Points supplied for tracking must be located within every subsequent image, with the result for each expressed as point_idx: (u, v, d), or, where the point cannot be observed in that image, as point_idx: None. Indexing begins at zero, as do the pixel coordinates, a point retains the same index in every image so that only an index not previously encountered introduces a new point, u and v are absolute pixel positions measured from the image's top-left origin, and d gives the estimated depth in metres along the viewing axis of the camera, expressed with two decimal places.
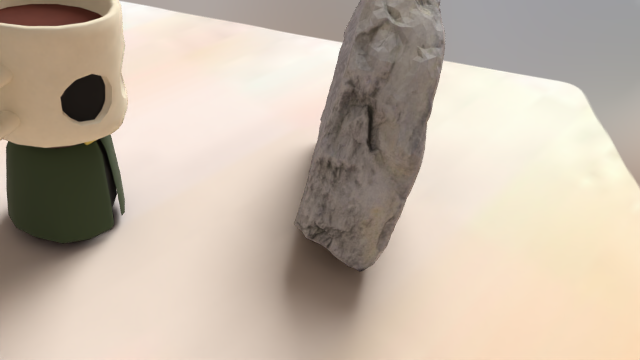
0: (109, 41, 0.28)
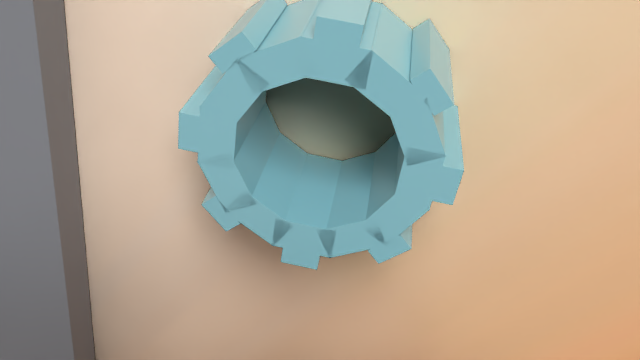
0: None
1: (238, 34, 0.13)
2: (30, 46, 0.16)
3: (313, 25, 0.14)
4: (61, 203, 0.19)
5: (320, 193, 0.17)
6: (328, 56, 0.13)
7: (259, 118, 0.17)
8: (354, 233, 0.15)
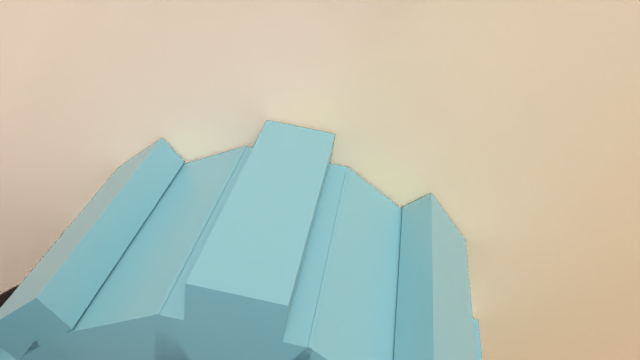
0: None
1: (31, 300, 0.06)
2: None
3: None
4: None
5: None
6: (219, 349, 0.06)
7: None
8: None
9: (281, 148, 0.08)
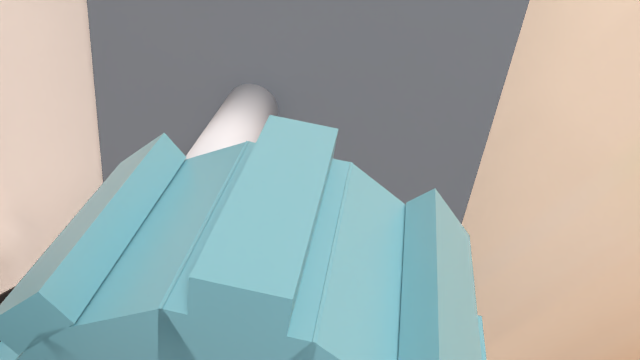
0: None
1: (33, 295, 0.06)
2: (503, 57, 0.16)
3: None
4: (462, 213, 0.19)
5: None
6: (222, 344, 0.06)
7: None
8: None
9: (284, 143, 0.08)
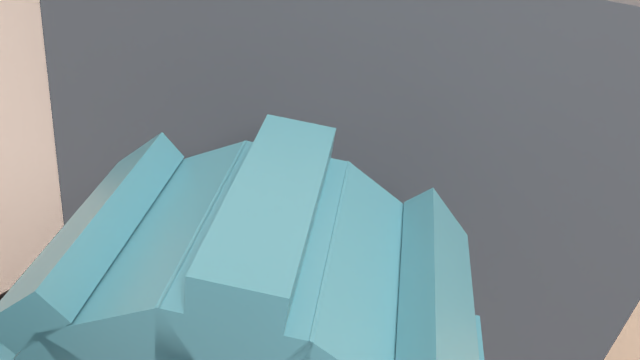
0: None
1: (30, 294, 0.06)
2: None
3: None
4: None
5: None
6: (219, 344, 0.06)
7: None
8: None
9: (282, 142, 0.08)
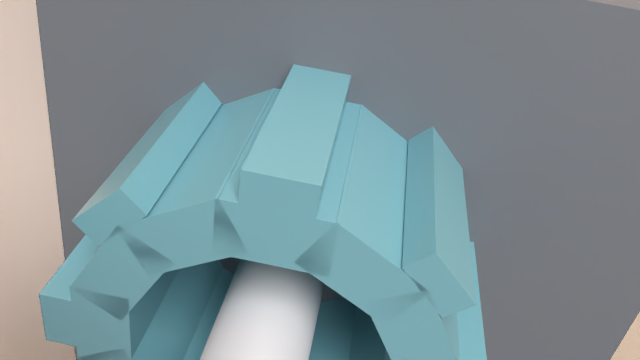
0: None
1: (115, 191, 0.08)
2: None
3: None
4: None
5: None
6: (265, 229, 0.08)
7: None
8: None
9: (307, 84, 0.10)
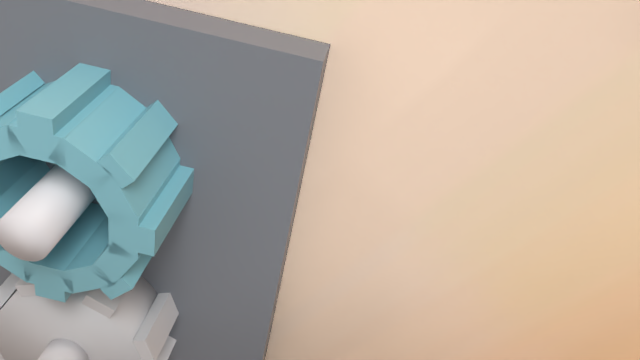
0: None
1: None
2: (301, 135, 0.19)
3: None
4: (283, 257, 0.22)
5: (76, 238, 0.20)
6: (32, 140, 0.16)
7: (28, 173, 0.20)
8: (86, 275, 0.19)
9: (80, 73, 0.18)
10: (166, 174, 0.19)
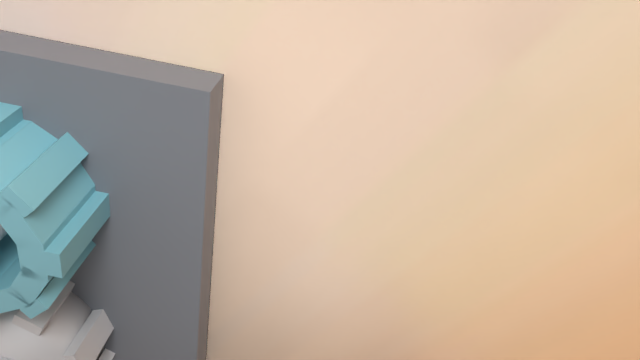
0: None
1: None
2: (200, 159, 0.20)
3: None
4: (203, 273, 0.24)
5: (1, 262, 0.22)
6: None
7: None
8: (5, 297, 0.20)
9: None
10: (77, 200, 0.21)
